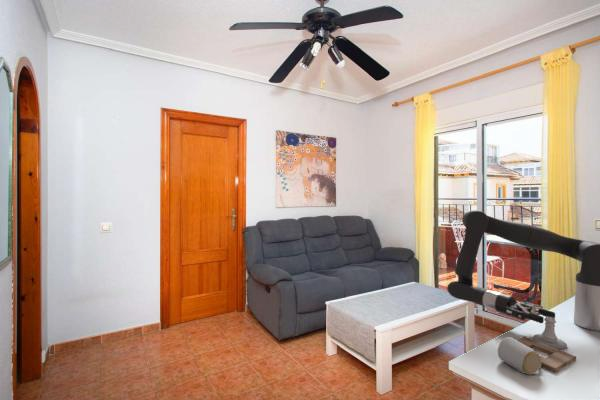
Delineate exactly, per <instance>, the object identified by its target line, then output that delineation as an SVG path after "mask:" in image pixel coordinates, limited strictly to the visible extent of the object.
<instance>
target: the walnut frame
mask: <svg viewBox="0 0 600 400" xmlns="http://www.w3.org/2000/svg"><path fill="white" fill-rule="evenodd" d="M516 340H517V341H519V342H521V343H522V344H524V345H526V346H528V347H530V348H531V349H533V350H534V351H536V352H537V351H538V352H540V353H542V354H545V355H547V356H542V355H540V354H539V356H540V359H541V367H540V368H542V369H545V370H547V371H550V372H552V373H554V374H556V373H558V372H559V371H561V370H563V369H564V368H566V367H568V366H569V365H571V364H572V363H574V362H576V361H577V356H576V355H574V354H571V353H569V352H567V351H564V350H559V349H556V348H554V347H551V346H548V345H546V344H543V343H541V342H538V341H535V340H533V338H530V337H527V336H525V335H524V336H521V337H519V338H517V339H516Z"/></svg>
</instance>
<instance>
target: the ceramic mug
mask: <svg viewBox="0 0 600 400" xmlns="http://www.w3.org/2000/svg"><path fill="white" fill-rule="evenodd" d="M539 355H540V354H539V353H538V352H537V350H535V349H532V348H530V347H528V346H526V345H524V344H522V343H521V342H519V341H517V339H515V338H513V337H511V336H506V337H504V338H503V339H502V340H501V341H500V342H499V345H498V348H497V356H498V359H500V360H501V361H502V362H504V363H505V364H507V365H509V366H510V367H512V368H514V369H516V370H517V371H519V372H521V373H523V374H525V375H533V374H536V373H537V372H538V370H539V369H541V368H542V367H541V359H540V356H541V355H540V356H539Z"/></svg>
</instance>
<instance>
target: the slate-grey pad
mask: <svg viewBox="0 0 600 400" xmlns="http://www.w3.org/2000/svg"><path fill="white" fill-rule="evenodd" d="M541 334H542V333H540V334H539V333H538V334H534V335H533V336H532V339H533V340H535V341H538V342H541V343H543V344H546V345H548V346H551V347H554V348H556V349H559V350H561V351H564V350H567V349H568V344H567V342H565V341H563V340H562V339H560V338H558V339H557V341H558V342H556V343H550V342H546V341H544V340H543V339H542V338H541V336H542V335H541Z"/></svg>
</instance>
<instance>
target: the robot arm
mask: <svg viewBox="0 0 600 400" xmlns="http://www.w3.org/2000/svg"><path fill="white" fill-rule="evenodd" d="M461 222H462V224H463V226H464V227H465V235H464V239H463V242H462V245H461V248H460V250H459V254H458V256H457V259H456V263H455V268H454V273H455V275H456V276H457V280H456V281H455V280H454V281H451V282H449V284H447V292H448V294H449V296H451V297H453V298H455V299H458V300H462V301H466V302H470V303H473V304H475V305H476V304H477V305H479V306H481V307H485V308H487V309H490V310H492V311H495V312H497V313H500V314H503V315H506V316H508V317H513V318H516V319H520V320H522V321H525V320H526V321H527V320H528V321H533V322H536V323H539V324H543V323H544V321H545V320H544V319H545V318H544V317H546V316H549V318H551V317H552V319H553V318H555V319H556V313H555V312H554V311H552V310H548V309H545V308H544V306H542V305H539V304H536V303H531V302H528V301H523V302H518V301H517V299H516V297H515V296H513V295H509V294H506V293H504V292H500V291H495V290H490V289H487V288H484V287H478V286H474V282H473V278H474V277H473V274H474V271H475V267H476V266H475V265H476V261H477V257H478V252H479V247H480V245H481V242H482V239H483V236H484V235H485V234H488V235H489V234H490V235H494V236H497V237H499V238H501V239H503V240H506V241H508V242H511V243H514V244H516V245H519V246H523V247H527V248H530V249H534V250H540V251H545V252H550V253H556V254H560V255H562V256H565V257H569V258H571V259H574V260H577V261H578V262H580V263H581V264H580V265H581V266H580V271H579V272H578V273H575V274H576V275H575V291H574V308H573V323H574V324H575V325H576V326H578V327H581V328H584V329H588V330H591V331H598V332H600V243H598V242H594V241H589V240H583V239H577V238H573V237H572V238H571V237H567V236H563V235H561V234H558V233H556V232H553V231H551V230H548V229H545V228H541V227H539V226H536V225H532V224H528V223H524V222H518V221H511V220H505V219H499V218H497V217H496V218H495V217H492V216H490V215H487V213H485V212H484V211H482V210H477V209H475V210H470V211H467V212H466V213H465V214H464V215H463V216H462V221H461Z"/></svg>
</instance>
